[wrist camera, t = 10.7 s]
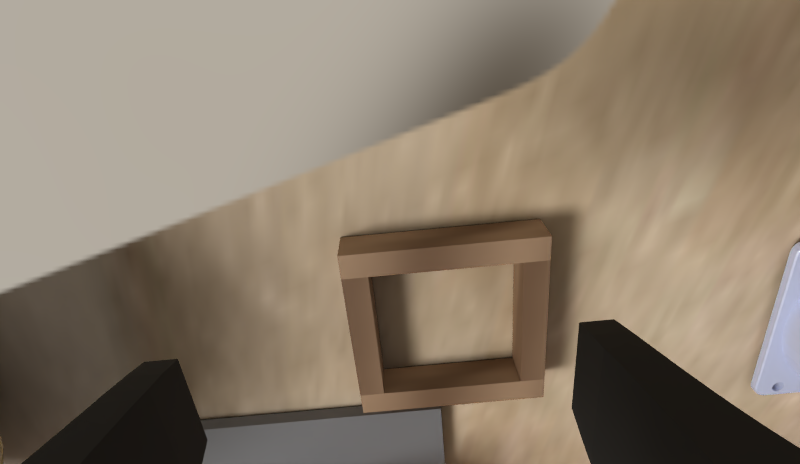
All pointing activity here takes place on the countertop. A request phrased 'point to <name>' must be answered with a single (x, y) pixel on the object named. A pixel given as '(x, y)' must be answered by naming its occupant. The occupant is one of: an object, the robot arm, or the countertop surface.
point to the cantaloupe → (1, 451)
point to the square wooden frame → (449, 251)
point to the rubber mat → (328, 437)
